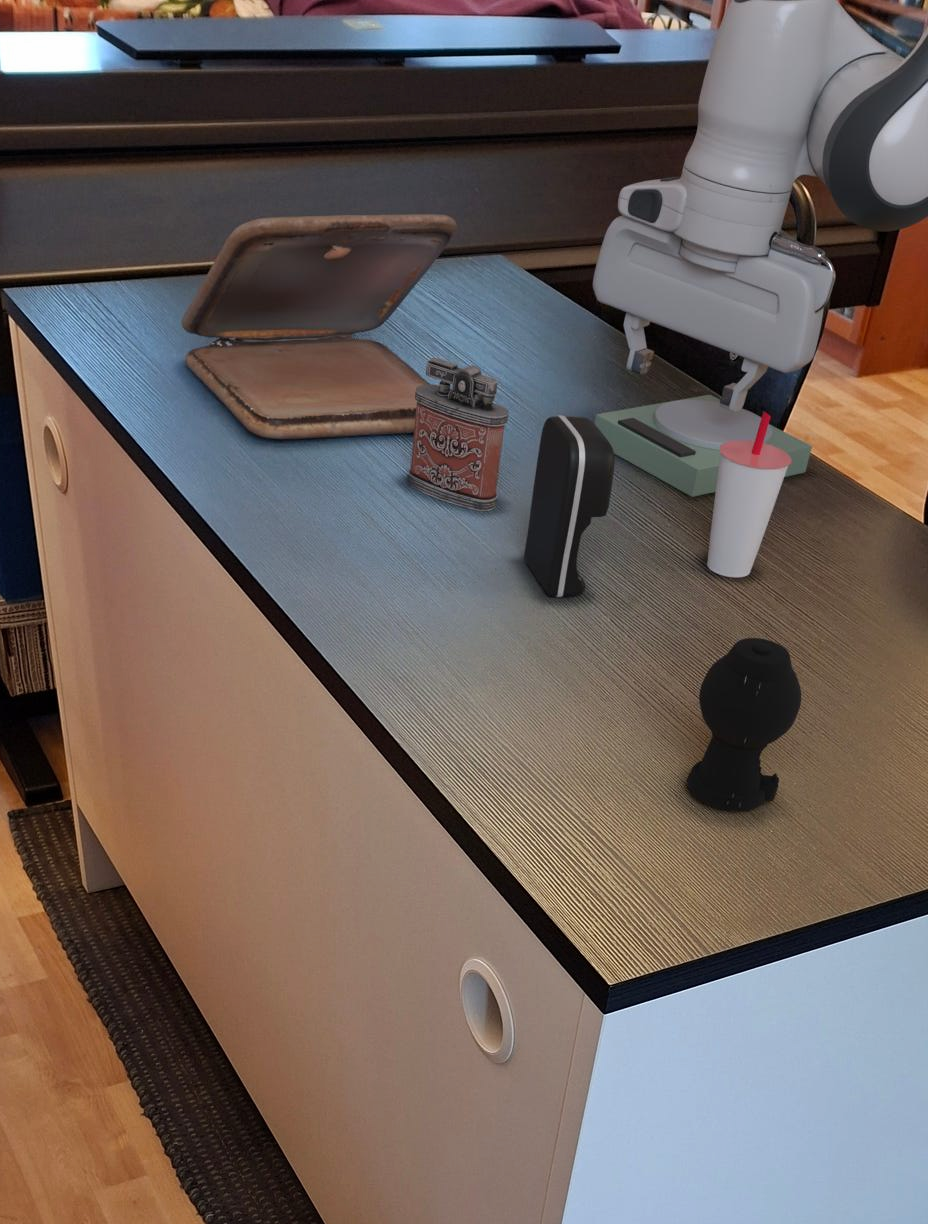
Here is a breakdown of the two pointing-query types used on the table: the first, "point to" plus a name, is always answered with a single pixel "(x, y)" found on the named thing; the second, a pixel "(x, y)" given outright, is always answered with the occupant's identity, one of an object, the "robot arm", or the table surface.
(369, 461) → the table surface
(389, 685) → the table surface
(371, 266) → the case
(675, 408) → the kitchen scale
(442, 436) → the lighter
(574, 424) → the battery charger
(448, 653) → the table surface
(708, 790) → the gumball machine
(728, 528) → the cup
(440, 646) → the table surface
